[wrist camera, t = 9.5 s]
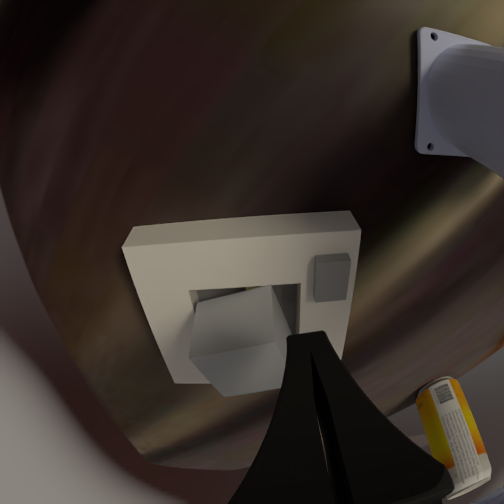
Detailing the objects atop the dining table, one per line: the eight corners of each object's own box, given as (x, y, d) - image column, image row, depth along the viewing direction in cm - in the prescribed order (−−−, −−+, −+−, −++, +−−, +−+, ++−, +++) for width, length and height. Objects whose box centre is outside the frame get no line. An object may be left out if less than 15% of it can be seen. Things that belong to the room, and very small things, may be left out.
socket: (349, 210, 20) (365, 237, 17) (332, 352, 28) (339, 382, 25) (133, 226, 20) (117, 254, 18) (178, 361, 28) (173, 390, 25)
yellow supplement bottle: (416, 406, 35) (444, 502, 23) (411, 388, 33) (444, 498, 20) (456, 387, 34) (490, 480, 21) (455, 367, 31) (497, 473, 18)
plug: (269, 267, 21) (274, 341, 16) (289, 315, 24) (296, 384, 19) (199, 285, 22) (188, 358, 17) (227, 329, 25) (223, 397, 20)
